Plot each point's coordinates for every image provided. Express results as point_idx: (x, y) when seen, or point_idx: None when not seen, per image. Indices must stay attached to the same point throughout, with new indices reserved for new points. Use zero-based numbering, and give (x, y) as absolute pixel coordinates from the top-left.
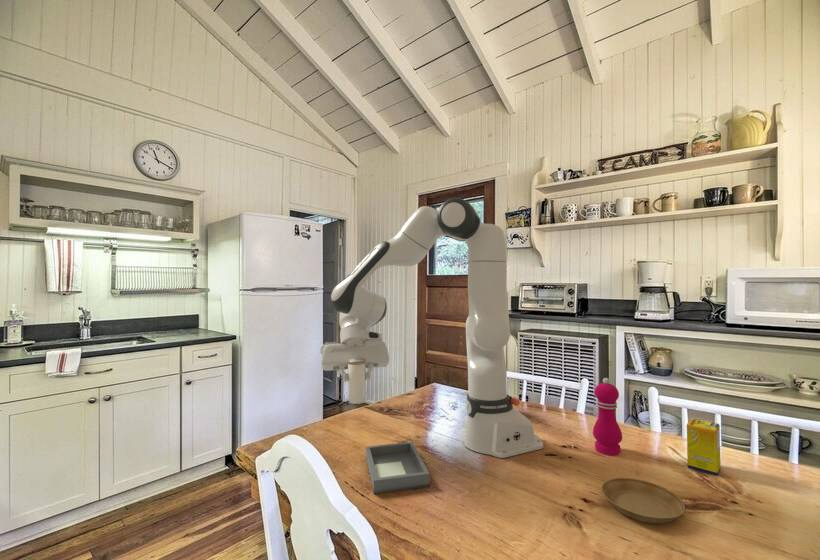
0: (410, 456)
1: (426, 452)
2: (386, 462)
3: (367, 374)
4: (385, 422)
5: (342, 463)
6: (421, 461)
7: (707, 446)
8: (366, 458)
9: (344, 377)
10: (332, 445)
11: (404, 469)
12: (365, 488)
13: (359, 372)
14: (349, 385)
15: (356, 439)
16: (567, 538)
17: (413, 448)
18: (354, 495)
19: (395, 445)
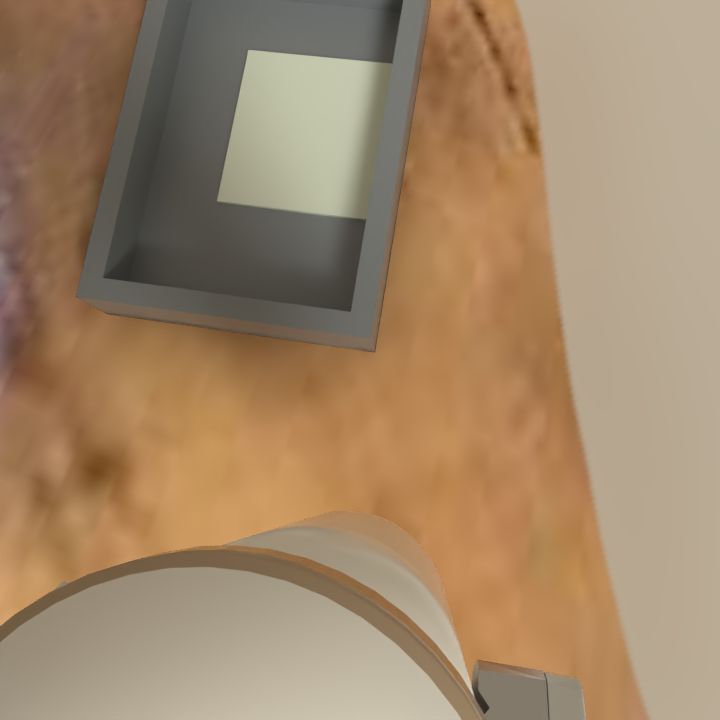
0: (145, 244)
1: (39, 287)
2: (289, 228)
3: None
4: None
5: (518, 338)
6: (142, 52)
7: None
8: (379, 318)
9: (563, 694)
10: (543, 621)
11: (231, 125)
12: (454, 58)
13: (262, 536)
14: (454, 626)
15: None
16: None
17: (113, 207)
18: (514, 22)
19: (191, 291)
